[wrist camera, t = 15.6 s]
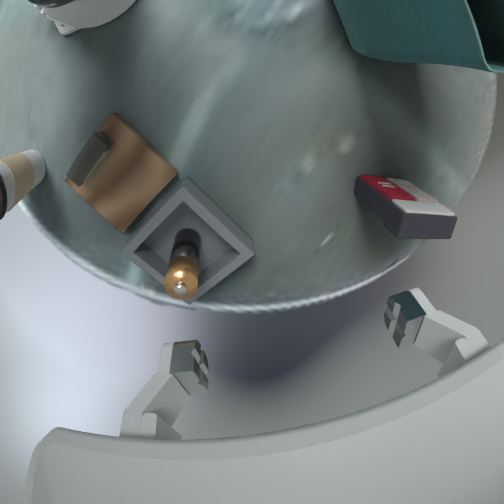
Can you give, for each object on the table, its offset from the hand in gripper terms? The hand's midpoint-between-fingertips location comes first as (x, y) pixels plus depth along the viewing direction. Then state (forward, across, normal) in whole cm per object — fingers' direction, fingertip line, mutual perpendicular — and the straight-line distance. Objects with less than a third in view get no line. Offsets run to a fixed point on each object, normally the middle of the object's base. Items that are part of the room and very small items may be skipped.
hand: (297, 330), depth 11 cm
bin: (+33, +12, +12) cm, 37 cm away
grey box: (+33, -22, +9) cm, 41 cm away
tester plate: (+33, +20, -2) cm, 39 cm away
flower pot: (+33, -24, -22) cm, 47 cm away
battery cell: (+32, +12, +11) cm, 36 cm away
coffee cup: (+33, +37, -10) cm, 51 cm away
